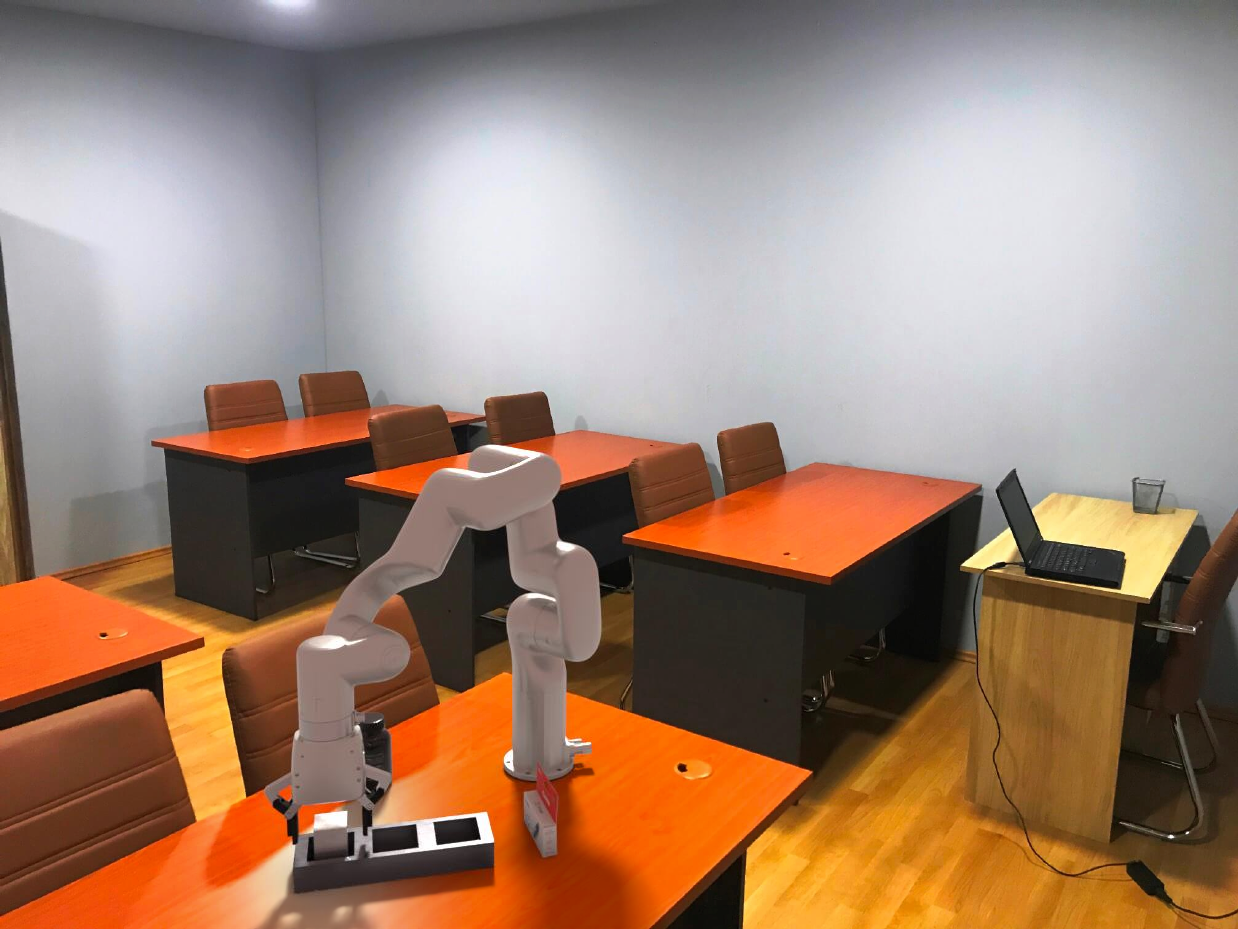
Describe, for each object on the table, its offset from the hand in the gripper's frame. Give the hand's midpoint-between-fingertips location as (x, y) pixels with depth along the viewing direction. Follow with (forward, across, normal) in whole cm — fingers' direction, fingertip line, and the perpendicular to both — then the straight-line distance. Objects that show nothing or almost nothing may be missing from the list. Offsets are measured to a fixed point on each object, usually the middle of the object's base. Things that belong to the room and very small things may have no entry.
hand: (330, 835), depth 138 cm
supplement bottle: (+6, -6, -25) cm, 26 cm away
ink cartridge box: (+6, -31, -2) cm, 32 cm away
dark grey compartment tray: (+6, -9, 0) cm, 11 cm away
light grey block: (+6, 0, 0) cm, 6 cm away
